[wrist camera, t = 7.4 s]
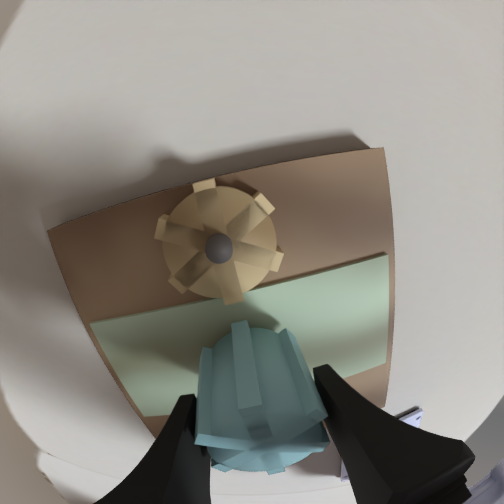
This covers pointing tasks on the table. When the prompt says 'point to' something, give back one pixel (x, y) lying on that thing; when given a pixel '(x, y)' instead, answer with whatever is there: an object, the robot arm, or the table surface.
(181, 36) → the table surface
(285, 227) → the gear board
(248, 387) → the teal gear
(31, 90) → the table surface
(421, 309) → the table surface
